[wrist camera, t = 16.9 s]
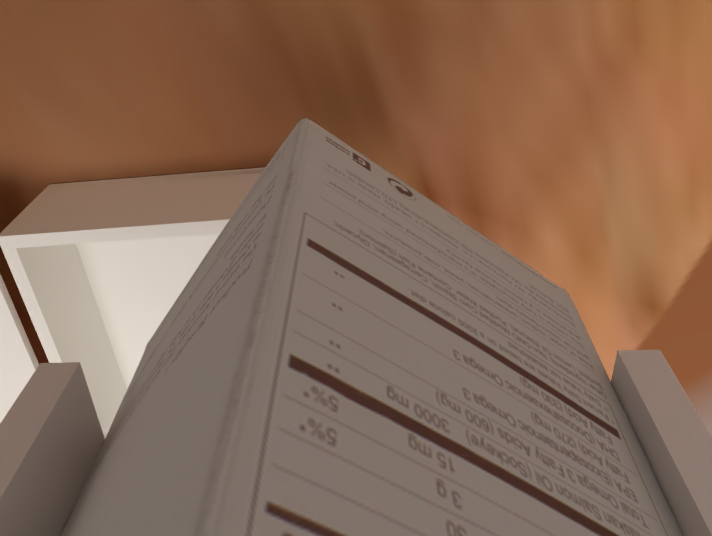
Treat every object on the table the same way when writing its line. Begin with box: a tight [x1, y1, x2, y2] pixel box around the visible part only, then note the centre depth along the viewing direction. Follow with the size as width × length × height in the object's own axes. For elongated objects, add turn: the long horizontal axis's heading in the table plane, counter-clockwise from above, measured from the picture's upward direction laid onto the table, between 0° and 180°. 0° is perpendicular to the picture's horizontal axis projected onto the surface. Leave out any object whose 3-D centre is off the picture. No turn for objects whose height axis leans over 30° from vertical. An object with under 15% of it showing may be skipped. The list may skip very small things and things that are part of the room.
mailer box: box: [0, 167, 265, 438], centre depth 34 cm, size 16×13×5 cm
